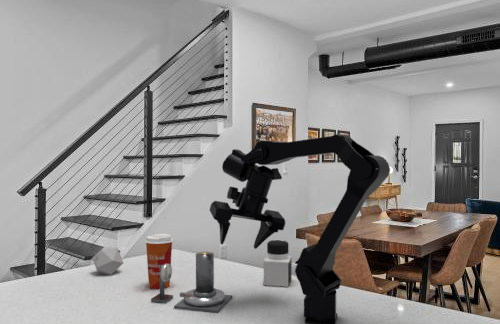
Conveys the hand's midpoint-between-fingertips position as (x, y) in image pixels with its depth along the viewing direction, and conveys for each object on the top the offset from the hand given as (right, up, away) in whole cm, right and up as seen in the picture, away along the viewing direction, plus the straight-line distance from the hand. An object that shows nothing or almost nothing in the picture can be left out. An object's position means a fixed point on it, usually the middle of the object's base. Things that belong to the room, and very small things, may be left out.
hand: (238, 245), depth 107 cm
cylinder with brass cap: (-8, -11, -3) cm, 14 cm away
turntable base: (-8, -14, -3) cm, 16 cm away
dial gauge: (-19, -14, -1) cm, 23 cm away
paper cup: (-22, -14, +11) cm, 28 cm away
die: (-41, -13, +24) cm, 50 cm away
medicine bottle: (+11, -13, +14) cm, 22 cm away
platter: (-9, -13, -2) cm, 16 cm away
